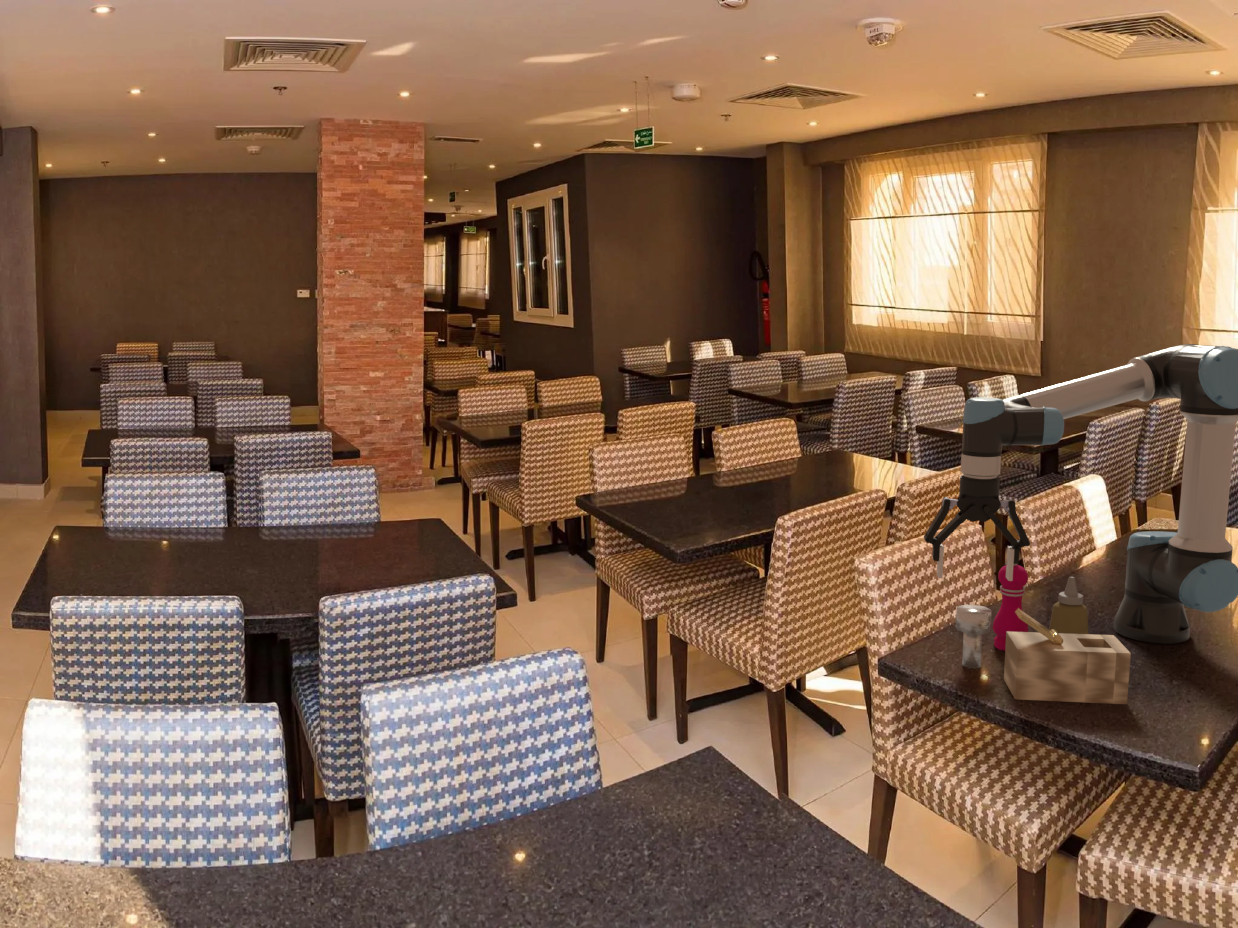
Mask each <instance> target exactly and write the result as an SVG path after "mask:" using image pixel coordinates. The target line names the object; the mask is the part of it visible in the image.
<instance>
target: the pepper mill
mask: <svg viewBox="0 0 1238 928" xmlns="http://www.w3.org/2000/svg"><path fill="white" fill-rule="evenodd" d="M997 577H998V578H997V579H998V581H999V583H1000V584H1001V585H1000V586H999V589H1000V590H999V593H1000V594H1001V604H1000V608H999V610H998V611H997V613H996V615H995V617H994V618H993V619H994V620H993V623H992V630H993V632H994V634H995V635H996V636H994V639H993V640H994V641H993V644H994V645H993V646H994V648H996V649H998V651H1002V650H1003V652H1005V647H1006V631H1009V632H1029V625H1028V624H1027V623H1025V622H1024V621H1022V620H1021V619H1020V618H1019V617H1018V616H1017V614H1016V613H1015V611H1016V610H1017V609H1018V608H1019V609H1020V610H1022V611H1023V603H1022V600H1023V596H1024V595H1025V594H1026V592H1025V590H1026V587H1025V585H1027V583H1028V582H1029V574H1028V571H1027V570H1026V568H1025V567H1024V566H1022V565H1019V564H1013V580H1012V581H1008V579H1007V578H1006V564H1005V565H1003V566H1002V567H1001V568H1000V569H999V571H998V575H997ZM1023 612H1024V611H1023Z"/></svg>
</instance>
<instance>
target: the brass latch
mask: <svg viewBox="0 0 1238 928" xmlns="http://www.w3.org/2000/svg"><path fill="white" fill-rule="evenodd" d="M1022 610H1023V609H1022ZM1022 610H1020V609H1019V608H1018V609H1017V610H1016V611H1015V613H1016V614H1017V616H1018V617H1019V618H1020V619H1021V620H1022V621H1024V622H1025V623H1027V624H1028V627H1029V626H1030V627H1031V628H1033V629H1034V630H1035V631H1036V632H1037V633H1041V634H1042V635H1044V636H1045V637H1047V638H1048V639H1049V640H1051V641H1052V642H1054V643H1055V644H1056V645H1061V644H1062V643H1063V639H1062V637H1061V636H1060V635H1059V634H1058V632H1057V631H1056V630H1054V629H1052V630H1049V628H1047V627H1046V626H1045V625H1043V624H1042V623H1041V622H1039V621H1037V620H1036V619H1035V618H1033V617H1031V616H1030V615H1029V614H1027V613H1026V612H1024V611H1022Z"/></svg>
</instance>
